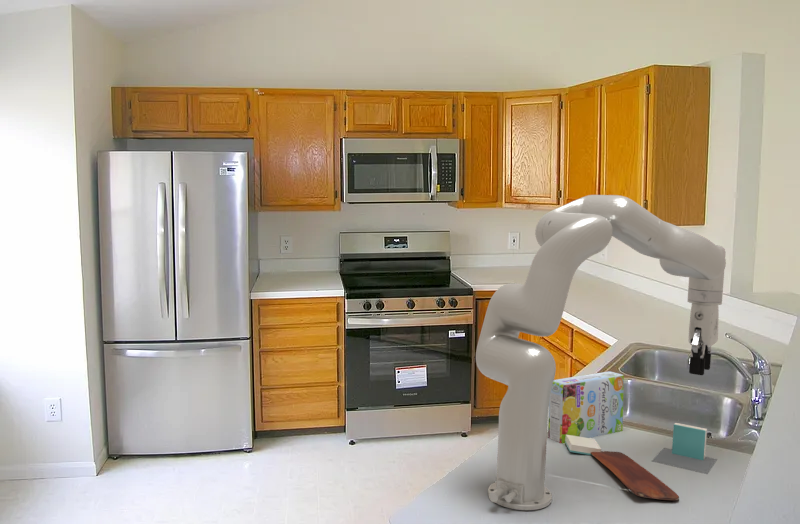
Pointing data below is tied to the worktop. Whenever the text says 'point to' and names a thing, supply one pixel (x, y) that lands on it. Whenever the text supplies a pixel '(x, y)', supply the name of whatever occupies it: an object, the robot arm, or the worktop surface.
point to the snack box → (586, 406)
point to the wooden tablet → (635, 476)
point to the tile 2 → (689, 441)
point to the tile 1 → (581, 445)
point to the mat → (684, 461)
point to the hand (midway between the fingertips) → (699, 370)
